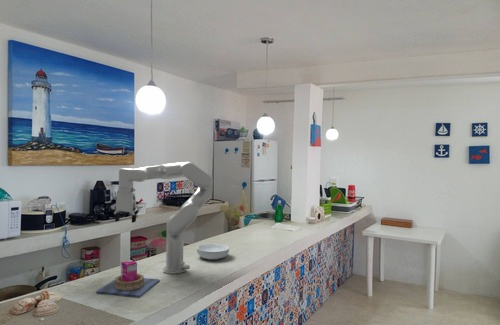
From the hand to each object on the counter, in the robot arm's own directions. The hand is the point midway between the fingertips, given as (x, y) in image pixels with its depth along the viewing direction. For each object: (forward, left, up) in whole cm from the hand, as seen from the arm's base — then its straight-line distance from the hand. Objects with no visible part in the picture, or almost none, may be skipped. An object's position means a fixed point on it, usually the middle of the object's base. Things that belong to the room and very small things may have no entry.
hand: (125, 221), depth 202 cm
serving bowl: (-39, -40, -29) cm, 63 cm away
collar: (-13, +19, -28) cm, 36 cm away
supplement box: (-13, +19, -28) cm, 36 cm away
